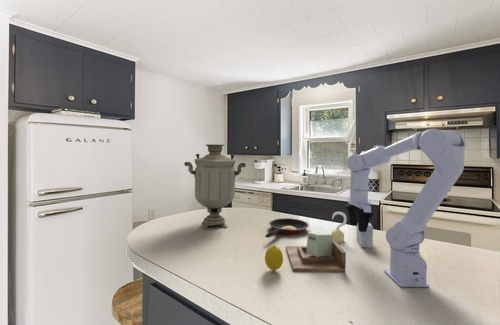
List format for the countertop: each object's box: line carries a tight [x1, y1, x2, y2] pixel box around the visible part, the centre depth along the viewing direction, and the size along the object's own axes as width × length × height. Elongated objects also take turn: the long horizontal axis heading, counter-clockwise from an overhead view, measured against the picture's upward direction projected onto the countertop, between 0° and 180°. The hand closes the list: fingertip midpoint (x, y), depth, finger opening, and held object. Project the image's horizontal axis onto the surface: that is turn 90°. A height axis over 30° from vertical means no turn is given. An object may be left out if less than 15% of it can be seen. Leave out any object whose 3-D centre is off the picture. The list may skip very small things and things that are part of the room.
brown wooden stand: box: [285, 239, 347, 273], centre depth 88 cm, size 18×16×6 cm
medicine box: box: [356, 222, 374, 249], centre depth 102 cm, size 8×4×9 cm, turn 168°
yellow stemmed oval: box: [330, 211, 348, 243], centre depth 106 cm, size 6×5×12 cm
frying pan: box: [264, 217, 310, 238], centre depth 115 cm, size 19×32×4 cm, turn 149°
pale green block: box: [306, 231, 333, 257], centre depth 88 cm, size 5×8×7 cm, turn 120°
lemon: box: [264, 245, 284, 272], centre depth 79 cm, size 6×6×8 cm
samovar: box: [184, 143, 247, 230], centre depth 128 cm, size 30×26×40 cm
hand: (357, 228), depth 89 cm, fingers open, 7 cm apart
